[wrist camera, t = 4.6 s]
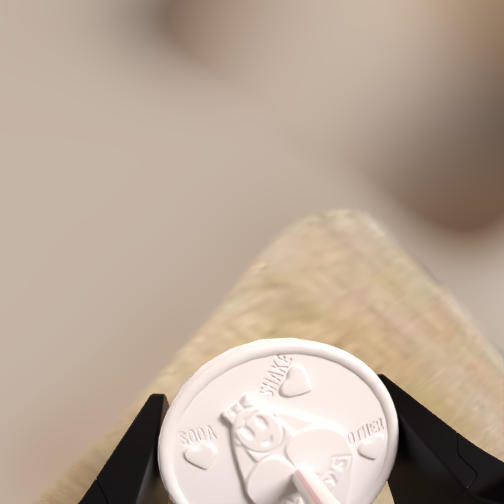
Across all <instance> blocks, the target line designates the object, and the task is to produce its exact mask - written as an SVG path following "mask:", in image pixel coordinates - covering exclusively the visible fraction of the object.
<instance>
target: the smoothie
mask: <svg viewBox="0 0 504 504" xmlns="http://www.w3.org/2000/svg"><path fill="white" fill-rule="evenodd" d="M398 442H399V428H398V419H397V414H396V410H395V407H394V404H393V401H392V399H391V396H390V394H389V392H388V391H387V389H386V387H385V385H384V384H383V383H382V381H381V380H380V379H379V377H378V376H377V375H376V374H375V373H374V372H373V371H372V370H371V369H370V368H369V367H368V366H367V365H366V364H364V363H363V362H362V361H360V360H359V359H357V358H356V357H355V356H353V355H351V354H349V353H347V352H345V351H343V350H341V349H339V348H336V347H334V346H330V345H327V344H324V343H319V342H314V341H307V340H301V339H296V338H278V339H260V340H257V341H254V342H251V343H247V344H244V345H241V346H237V347H234V348H230V349H229V350H227V351H225V352H224V353H222V354H220V355H219V356H217V357H215V358H213V359H212V360H210V361H208V362H207V363H205V364H203V365H202V366H201V367H200V368H199V369H198V370H197V371H196V372H195V373H194V374H193V375H192V376H191V377H190V378H189V379H188V380H187V381H186V382H185V383H184V384H183V385H182V386H181V387H180V389H179V391H178V393H177V394H176V396H175V398H174V400H173V402H172V403H171V405H170V407H169V409H168V411H167V413H166V416H165V419H164V422H163V424H162V427H161V432H160V436H159V443H158V463H159V470H160V474H161V478H162V481H163V484H164V486H165V489H166V491H167V493H168V495H169V496H170V498H171V500H172V501H173V503H174V504H372V502H373V501H374V500H375V499H376V498H377V496H378V495H379V493H380V492H381V490H382V489H383V487H384V485H385V484H386V482H387V480H388V478H389V476H390V473H391V471H392V469H393V466H394V463H395V459H396V455H397V450H398Z"/></svg>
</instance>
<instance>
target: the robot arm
mask: <svg viewBox="0 0 504 504" xmlns="http://www.w3.org/2000/svg"><path fill="white" fill-rule="evenodd" d="M377 376H378V377H379V379H380V380H381V381H382V383H383V384H384V385H385V387H386V389H387V391H388V392H389V394H390V396H391V399H392V401H393V404H394V407H395V410H396V414H397V419H398V428H399V442H398V450H397V455H396V459H395V463H394V466H393V469H392V471H391V473H390V476H389V478H388V480H387V481H388V484H389V487H390V491H391V494H392V497H393V500H394V503H395V504H504V462H502V461H501V460H499V459H497V458H495V457H494V456H492V455H490V454H488V453H487V452H485V451H483V450H482V449H480V448H479V447H477V446H476V445H474V444H473V443H471V442H470V441H468V440H467V439H466V438H464V437H463V436H462V435H460V434H459V433H457V432H456V431H455V430H454V429H452V428H451V427H450V426H449V425H447V424H446V423H445V422H443V421H442V420H441V419H440V418H438V417H437V416H436V415H434V414H433V413H432V412H430V411H429V410H428V409H427V408H425V407H424V406H423V405H421V404H420V403H419V402H418V401H416V400H415V399H414V398H412V397H411V396H410V395H409V394H407V393H406V392H405V391H404V390H402V389H401V388H400V387H398V386H397V385H396V384H395V383H393V382H392V381H391V380H390V379H388V378H387V377H386V376H384V375H383V374H377ZM168 409H169V404H168V401H167V398H166V396H165V394H152V395H150V397H149V398H148V400H147V401H146V403H145V404H144V406H143V407H142V409H141V410H140V412H139V414H138V415H137V417H136V418H135V420H134V421H133V423H132V424H131V426H130V427H129V429H128V430H127V432H126V433H125V435H124V436H123V438H122V439H121V441H120V442H119V444H118V445H117V447H116V449H115V450H114V452H113V453H112V455H111V456H110V458H109V459H108V461H107V462H106V464H105V465H104V467H103V468H102V470H101V471H100V473H99V475H98V476H97V480H94V482H93V484H92V485H91V487H90V488H89V490H88V491H87V492H86V494H85V495H84V497H83V498H82V500H81V501H80V502H79V503H78V504H167V503H168V493H167V491H166V489H165V486H164V484H163V481H162V478H161V474H160V470H159V463H158V443H159V436H160V432H161V427H162V424H163V422H164V419H165V416H166V413H167V411H168Z"/></svg>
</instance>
